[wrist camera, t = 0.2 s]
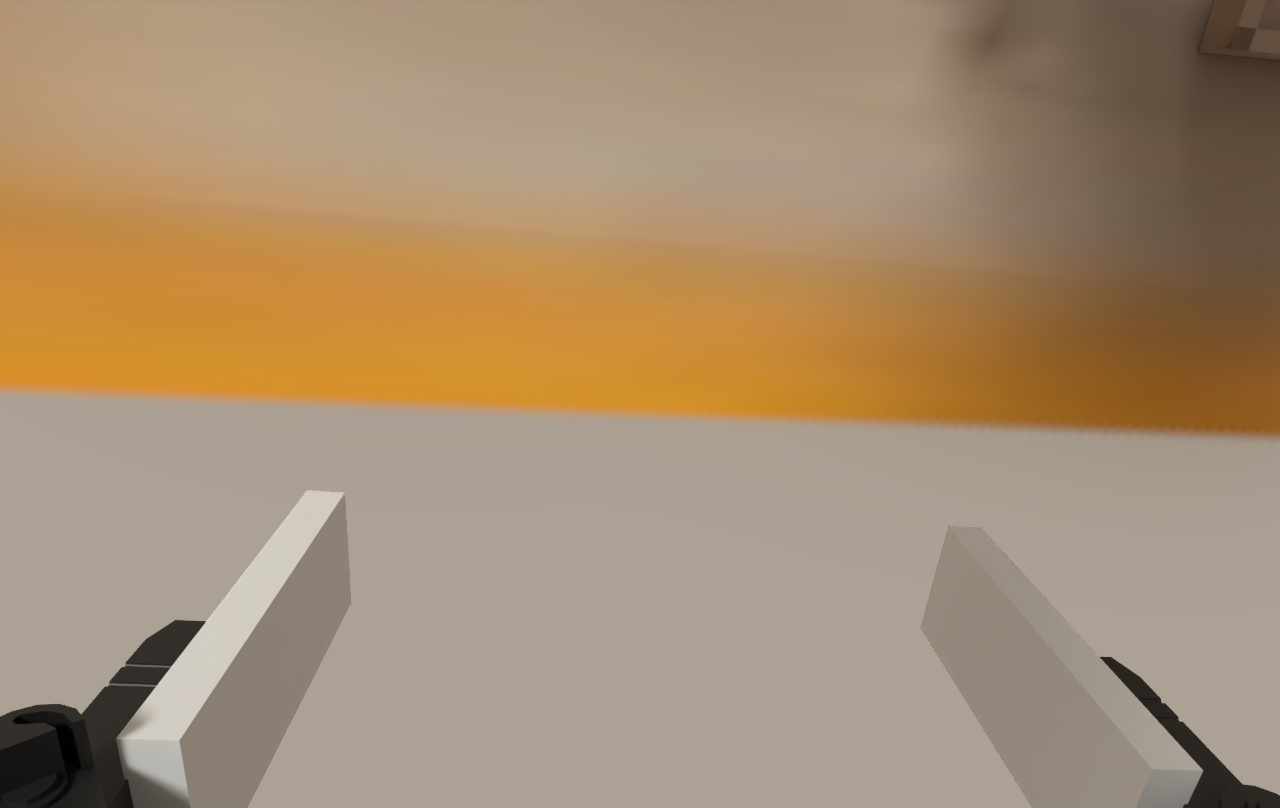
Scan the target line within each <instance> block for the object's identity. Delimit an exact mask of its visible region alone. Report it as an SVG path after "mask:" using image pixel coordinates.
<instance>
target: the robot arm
mask: <svg viewBox="0 0 1280 808" xmlns="http://www.w3.org/2000/svg"><path fill="white" fill-rule="evenodd" d="M348 557H349V556H348V539H347V521H346V505H345V493H341V492H322V491H306V493H305V494H304V495H303V497H302V498H301V499H300V501H299V502H298V503H297V504H296V506H295V507H294V508H293V510H292V511H291V512H290V514H289V515H288V516H287V517H286V519H285V520H284V521H283V523H282V524H281V525H280V527H279V528H278V529H277V530H276V532H275V533H274V534H273V536H272V537H271V538H270V539H269V541H268V542H267V543H266V545H265V546H264V547H263V549H262V550H261V551H260V553H259V554H258V555H257V556H256V558H255V559H254V560H253V562H252V563H251V564H250V566H249V567H248V568H247V569H246V571H245V572H244V573H243V575H242V576H241V577H240V578H239V580H238V581H237V582H236V584H235V585H234V586H233V588H232V589H231V590H230V591H229V593H228V594H227V595H226V597H225V598H224V599H223V601H222V602H221V603H220V604H219V606H218V607H217V608H216V610H215V611H214V612H213V613H212V615H211V616H210V617H209V619H208V620H207V621H183V620H175V621H173V622H172V623H171V624H169V625H167V626H166V627H164V628H163V629H161V630H160V631H158V632H157V633H155V634H153V635H152V636H150V637H149V638H147V639H146V640H145V641H144V642H143V643H142V644H141V646H140V647H139V648H138V649H137V650H136V651H135V653H134V654H133V655H132V656H131V657H130V659H129V660H128V661H127V662H126V665H125V667H122V668H121V669H120V670H119V671H118V673H116V675H115V676H114V677H113V678H112V679H111V680H110V683H109V686H108V687H104V689H103V690H102V691H101V692H100V693H99V695H98V696H97V697H96V698H95V699H94V700H93V702H92V703H91V704H90V705H89V706H88V707H87V709H86V710H85V711H84V712H83V713H82V714H80V713H79V712H78V711H77V709H75V708H72V707H68V706H65V705H61V704H48V705H35V706H32V707H27V708H23V709H20V710H16V711H12V712H10V713H7V714H5V715H3V716H1V717H0V808H248V806H249V804H250V802H251V800H252V798H253V796H254V794H255V792H256V790H257V788H258V786H259V784H260V782H261V780H262V778H263V776H264V774H265V772H266V770H267V768H268V766H269V764H270V762H271V760H272V758H273V756H274V754H275V752H276V750H277V748H278V746H279V744H280V742H281V740H282V738H283V736H284V734H285V732H286V730H287V728H288V726H289V725H290V723H291V720H292V719H293V717H294V715H295V713H296V711H297V709H298V707H299V704H300V702H301V701H302V699H303V697H304V695H305V693H306V691H307V689H308V687H309V685H310V683H311V681H312V679H313V677H314V675H315V673H316V671H317V669H318V667H319V665H320V663H321V661H322V659H323V657H324V655H325V653H326V651H327V649H328V647H329V645H330V643H331V641H332V639H333V638H334V635H335V634H336V632H337V630H338V627H339V625H340V624H341V622H342V620H343V618H344V616H345V614H346V612H347V610H348V608H349V606H350V604H351V592H350V575H349V558H348ZM921 629H922V631H923V632H924V634H925V635H926V637H927V639H928V640H929V642H930V644H931V645H932V647H933V648H934V650H935V652H936V653H937V655H938V657H939V658H940V660H941V661H942V663H943V664H944V666H945V668H946V669H947V671H948V673H949V674H950V676H951V677H952V679H953V681H954V682H955V684H956V685H957V687H958V689H959V690H960V692H961V693H962V695H963V697H964V698H965V700H966V702H967V703H968V705H969V706H970V708H971V709H972V711H973V713H974V714H975V716H976V718H977V719H978V721H979V722H980V724H981V726H982V727H983V729H984V731H985V732H986V734H987V735H988V737H989V738H990V740H991V742H992V743H993V745H994V746H995V748H996V750H997V752H998V753H999V754H1000V756H1001V758H1002V759H1003V761H1004V763H1005V764H1006V766H1007V768H1008V769H1009V771H1010V772H1011V774H1012V776H1013V777H1014V779H1015V781H1016V782H1017V783H1018V785H1019V787H1020V788H1021V790H1022V792H1023V793H1024V795H1025V797H1026V798H1027V800H1028V801H1029V803H1030V805H1031V806H1032V808H1280V796H1279V795H1278V794H1276V793H1273V792H1270V791H1267V790H1264V789H1261V788H1259V787H1256V786H1250V785H1243V784H1242V783H1241V782H1240V781H1239V780H1238V779H1237V778H1236V777H1235V776H1234V775H1233V774H1232V773H1231V772H1230V771H1229V770H1228V769H1227V768H1226V767H1225V766H1224V765H1223V764H1222V762H1221V761H1220V760H1219V759H1218V758H1217V757H1216V756H1215V755H1214V754H1213V753H1212V752H1211V751H1210V750H1209V749H1208V748H1207V747H1206V746H1205V745H1204V744H1203V743H1202V741H1201V740H1200V739H1199V738H1198V737H1197V736H1196V735H1195V734H1194V733H1193V732H1192V731H1191V730H1190V729H1189V728H1188V727H1187V726H1186V725H1185V724H1184V723H1183V722H1179V720H1178V716H1177V715H1176V714H1175V713H1174V712H1173V711H1172V710H1171V709H1170V708H1169V707H1168V706H1167V705H1166V704H1164V703H1161V699H1160V697H1159V696H1157V694H1156V693H1155V692H1154V691H1153V690H1152V689H1151V688H1150V687H1149V686H1148V685H1147V684H1146V683H1145V682H1144V681H1143V680H1142V679H1141V678H1140V677H1139V676H1138V675H1136V674H1135V673H1133V672H1132V671H1130V670H1129V669H1128V668H1126V667H1125V666H1123V665H1122V664H1120V663H1119V662H1117V661H1116V660H1114V659H1113V658H1112V657H1099V656H1098V655H1097V654H1096V653H1095V652H1094V651H1093V649H1092V648H1091V647H1090V646H1089V645H1088V644H1087V643H1086V642H1085V641H1084V640H1083V639H1082V638H1081V637H1080V635H1079V634H1078V633H1077V632H1076V631H1075V630H1074V629H1073V628H1072V627H1071V626H1070V624H1069V623H1068V622H1067V621H1066V620H1065V619H1064V618H1063V617H1062V616H1061V615H1060V614H1059V612H1058V611H1057V610H1056V609H1055V608H1054V607H1053V606H1052V605H1051V604H1050V602H1049V601H1048V600H1047V599H1046V598H1045V597H1044V596H1043V595H1042V594H1041V593H1040V592H1039V591H1038V589H1036V587H1035V586H1034V585H1033V584H1032V583H1031V582H1030V581H1029V580H1028V578H1027V577H1026V576H1025V575H1024V574H1023V573H1022V572H1021V571H1020V570H1019V569H1018V568H1017V566H1016V565H1015V564H1014V563H1013V562H1012V561H1011V560H1010V559H1009V558H1008V557H1007V555H1006V554H1005V553H1004V552H1003V551H1002V550H1001V549H1000V548H999V547H998V546H997V545H996V543H995V542H994V541H993V540H992V539H991V538H990V537H989V536H988V535H987V534H986V533H985V531H984V530H983V529H982V528H973V527H955V526H948V530H947V533H946V537H945V541H944V544H943V548H942V551H941V555H940V559H939V563H938V566H937V570H936V573H935V577H934V581H933V584H932V589H931V592H930V595H929V599H928V603H927V606H926V610H925V614H924V618H923V621H922V625H921Z"/></svg>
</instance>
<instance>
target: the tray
mask: <svg viewBox="0 0 1280 808" xmlns="http://www.w3.org/2000/svg"><path fill="white" fill-rule="evenodd" d="M1198 52H1201V53H1211V54H1220V55H1230V56H1239V57H1249V58H1258V59H1268V60H1277V61H1280V0H1214V3H1213V6H1212V9H1211V12H1210V15H1209V18H1208V21H1207V25H1206V28H1205V31H1204V34H1203V37H1202V40H1201V43H1200V46H1199V50H1198Z"/></svg>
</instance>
